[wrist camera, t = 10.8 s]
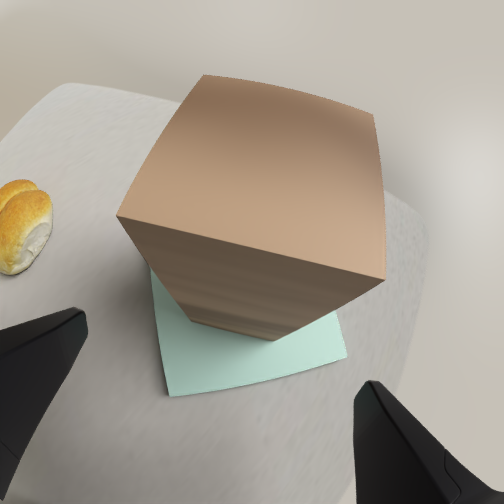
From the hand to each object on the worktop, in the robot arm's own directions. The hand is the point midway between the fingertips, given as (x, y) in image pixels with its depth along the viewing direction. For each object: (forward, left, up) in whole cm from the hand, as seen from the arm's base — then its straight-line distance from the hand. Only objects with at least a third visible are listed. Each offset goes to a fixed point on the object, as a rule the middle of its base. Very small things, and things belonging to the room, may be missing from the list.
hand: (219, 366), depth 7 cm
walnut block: (+4, -2, -8) cm, 9 cm away
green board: (+4, -2, -9) cm, 10 cm away
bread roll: (+13, +16, -9) cm, 23 cm away
